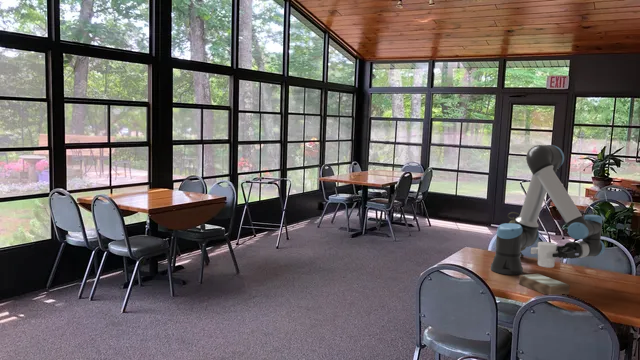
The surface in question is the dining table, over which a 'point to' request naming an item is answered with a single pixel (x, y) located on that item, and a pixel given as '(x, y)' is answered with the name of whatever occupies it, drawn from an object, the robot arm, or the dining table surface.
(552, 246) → the white cup
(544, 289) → the board
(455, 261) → the dining table surface
